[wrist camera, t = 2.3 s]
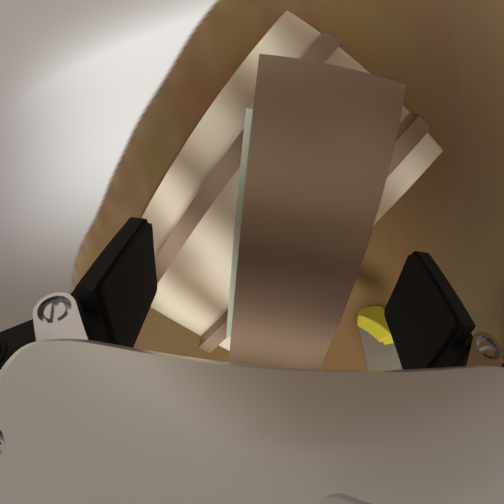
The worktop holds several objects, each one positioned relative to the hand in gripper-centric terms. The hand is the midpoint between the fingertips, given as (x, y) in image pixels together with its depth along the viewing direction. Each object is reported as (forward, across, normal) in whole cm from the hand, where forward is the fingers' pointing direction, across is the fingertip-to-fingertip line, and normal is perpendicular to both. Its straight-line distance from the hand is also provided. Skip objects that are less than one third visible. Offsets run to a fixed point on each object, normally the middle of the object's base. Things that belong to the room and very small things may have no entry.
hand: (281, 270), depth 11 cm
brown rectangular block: (+9, -1, 0) cm, 9 cm away
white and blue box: (+12, -18, +20) cm, 29 cm away
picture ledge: (+12, +1, +4) cm, 13 cm away
